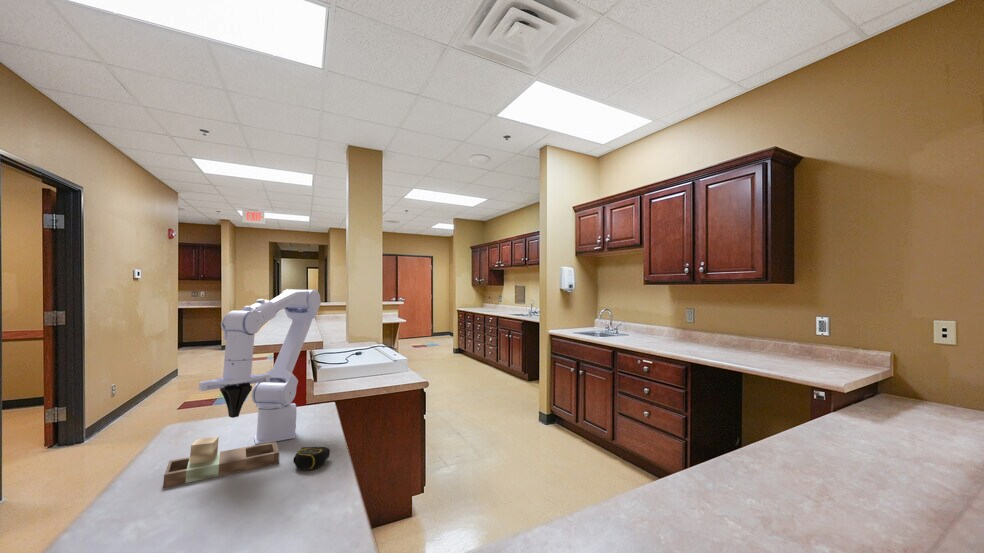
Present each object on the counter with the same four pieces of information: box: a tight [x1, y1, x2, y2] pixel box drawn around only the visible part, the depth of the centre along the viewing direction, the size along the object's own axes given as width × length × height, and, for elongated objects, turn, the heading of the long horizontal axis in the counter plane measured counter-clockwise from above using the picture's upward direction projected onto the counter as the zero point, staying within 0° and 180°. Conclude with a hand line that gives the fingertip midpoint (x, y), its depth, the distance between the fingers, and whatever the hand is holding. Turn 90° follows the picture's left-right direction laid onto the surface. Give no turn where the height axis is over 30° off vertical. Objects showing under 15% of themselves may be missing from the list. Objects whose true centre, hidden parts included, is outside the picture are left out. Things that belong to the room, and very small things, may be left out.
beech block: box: [189, 436, 220, 464], centre depth 82 cm, size 4×4×4 cm
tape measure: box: [292, 446, 331, 470], centre depth 85 cm, size 7×7×4 cm
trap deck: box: [162, 441, 280, 489], centre depth 83 cm, size 20×8×2 cm, turn 126°
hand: (233, 416), depth 87 cm, fingers closed
